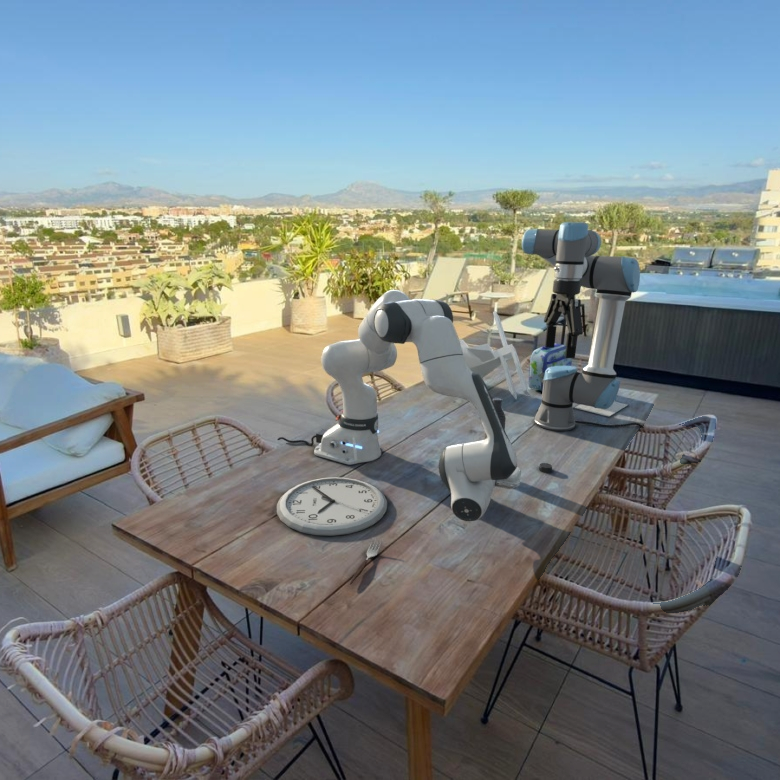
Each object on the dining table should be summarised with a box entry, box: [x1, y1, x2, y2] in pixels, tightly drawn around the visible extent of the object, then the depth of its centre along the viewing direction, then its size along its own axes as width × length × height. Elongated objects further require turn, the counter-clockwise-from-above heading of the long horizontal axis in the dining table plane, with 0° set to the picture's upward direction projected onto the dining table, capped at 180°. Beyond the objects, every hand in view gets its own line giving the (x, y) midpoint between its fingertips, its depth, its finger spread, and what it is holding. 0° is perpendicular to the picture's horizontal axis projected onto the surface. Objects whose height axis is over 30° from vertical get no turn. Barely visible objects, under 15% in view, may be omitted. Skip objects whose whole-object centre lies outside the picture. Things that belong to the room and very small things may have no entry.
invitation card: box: [573, 401, 629, 418], centre depth 226 cm, size 21×1×15 cm
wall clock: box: [276, 476, 388, 537], centre depth 142 cm, size 30×2×30 cm
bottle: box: [484, 397, 507, 440], centre depth 158 cm, size 6×6×25 cm
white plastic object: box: [459, 310, 531, 400], centre depth 245 cm, size 37×45×31 cm
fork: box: [349, 538, 383, 585], centre depth 117 cm, size 3×16×2 cm, turn 160°
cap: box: [538, 462, 553, 474], centre depth 166 cm, size 4×4×2 cm
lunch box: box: [528, 343, 573, 392], centre depth 249 cm, size 26×11×21 cm, turn 134°
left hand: (486, 459), depth 149 cm, fingers open, 8 cm apart
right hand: (559, 352), depth 155 cm, fingers open, 13 cm apart
